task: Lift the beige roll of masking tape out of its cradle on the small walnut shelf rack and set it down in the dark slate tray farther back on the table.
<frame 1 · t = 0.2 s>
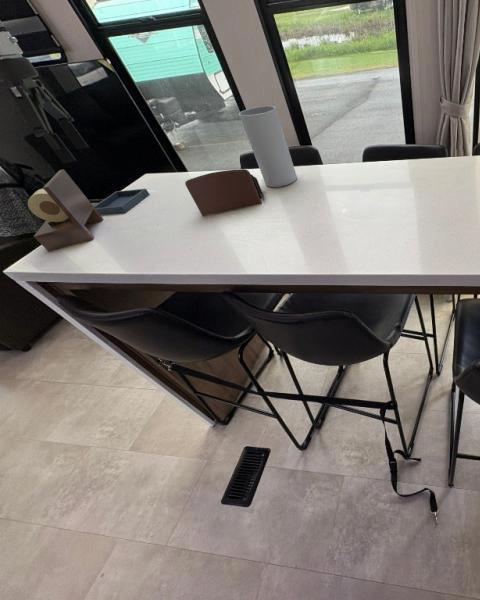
hand: (77, 154, 87), 25 cm above the table, tool pointing down, fingers open, 13 cm apart
tray: (123, 204, 124), on the table
cylinder vase: (281, 181, 128), on the table
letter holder: (235, 208, 113), on the table
rack: (81, 238, 106), on the table
tape roll: (52, 205, 98), point 12 cm above the table, touching rack
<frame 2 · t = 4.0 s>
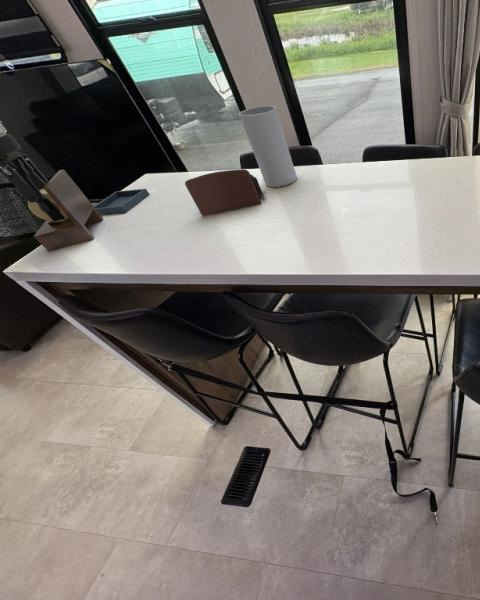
hand: (61, 216, 101), 8 cm above the table, tool pointing down, fingers closed on tape roll, 5 cm apart
tape roll: (52, 205, 98), point 12 cm above the table, touching gripper, rack
everything else where it was.
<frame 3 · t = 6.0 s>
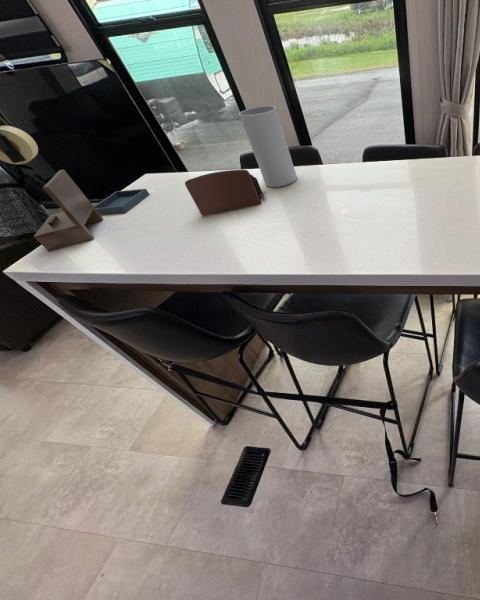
hand: (23, 158, 92), 25 cm above the table, tool pointing down, fingers closed on tape roll, 5 cm apart
tape roll: (11, 145, 89), point 28 cm above the table, touching gripper
everything else where it was.
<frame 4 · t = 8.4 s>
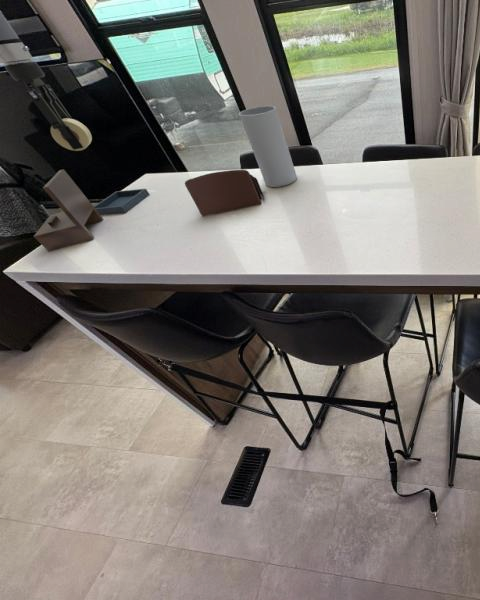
hand: (80, 146, 110), 22 cm above the table, tool pointing down, fingers closed on tape roll, 5 cm apart
tape roll: (72, 134, 107), point 25 cm above the table, touching gripper
everything else where it was.
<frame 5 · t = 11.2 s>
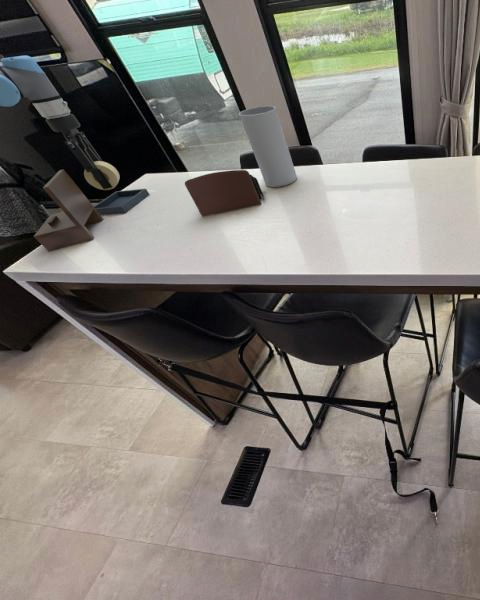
hand: (109, 185, 119), 8 cm above the table, tool pointing down, fingers closed on tape roll, 5 cm apart
tape roll: (102, 175, 117), point 11 cm above the table, touching gripper
everything else where it was.
when the fingers open (1 cm above the table, at t = 13.0 s): tape roll stays where it is, resting on tray.
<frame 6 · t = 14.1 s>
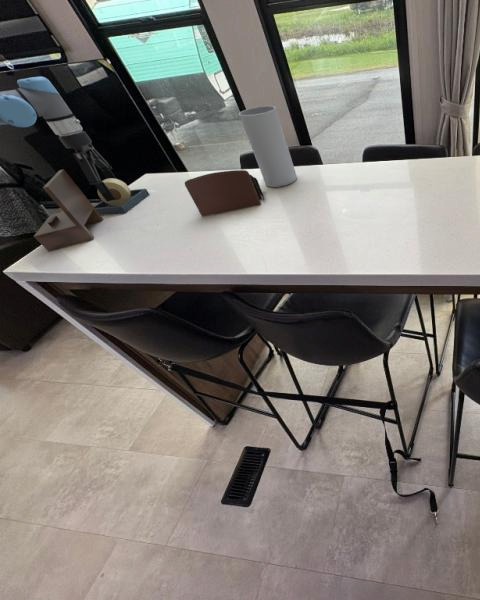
hand: (114, 193, 121), 5 cm above the table, tool pointing down, fingers open, 13 cm apart
tape roll: (114, 192, 121), point 5 cm above the table, touching tray
everything else where it was.
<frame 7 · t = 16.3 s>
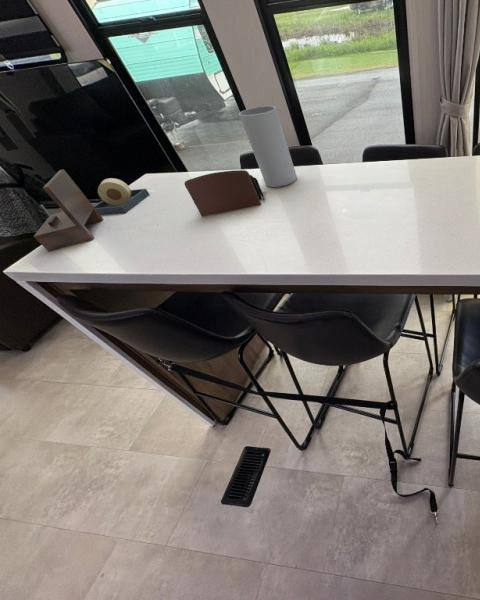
hand: (22, 144, 94), 27 cm above the table, tool pointing down, fingers open, 13 cm apart
nothing on the table moved.
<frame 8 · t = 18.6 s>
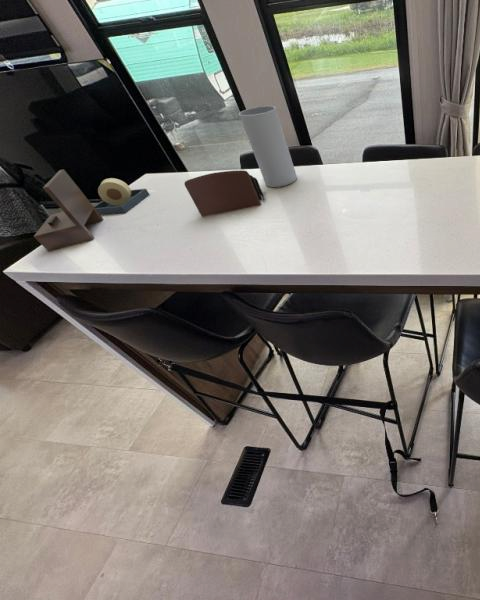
nothing on the table moved.
at the end: tape roll inside the target area on the tray (0.4 cm from its centre), point 5.0 cm above the tray's base; the gripper is holding nothing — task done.
